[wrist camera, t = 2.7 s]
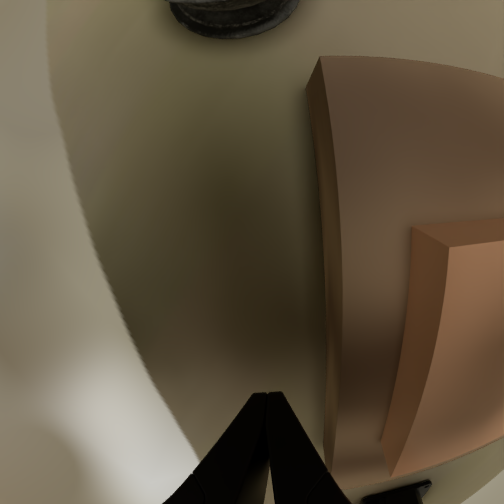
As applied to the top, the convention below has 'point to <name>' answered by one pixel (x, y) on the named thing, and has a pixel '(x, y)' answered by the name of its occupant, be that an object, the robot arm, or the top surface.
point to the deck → (389, 221)
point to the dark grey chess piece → (231, 16)
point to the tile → (449, 347)
